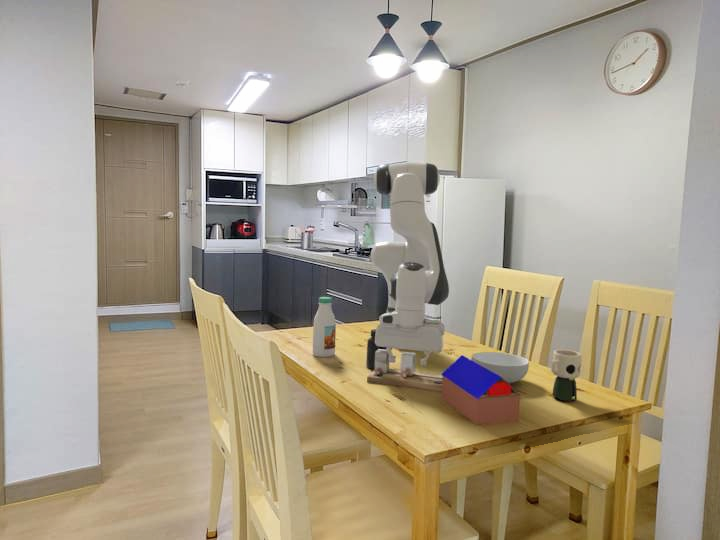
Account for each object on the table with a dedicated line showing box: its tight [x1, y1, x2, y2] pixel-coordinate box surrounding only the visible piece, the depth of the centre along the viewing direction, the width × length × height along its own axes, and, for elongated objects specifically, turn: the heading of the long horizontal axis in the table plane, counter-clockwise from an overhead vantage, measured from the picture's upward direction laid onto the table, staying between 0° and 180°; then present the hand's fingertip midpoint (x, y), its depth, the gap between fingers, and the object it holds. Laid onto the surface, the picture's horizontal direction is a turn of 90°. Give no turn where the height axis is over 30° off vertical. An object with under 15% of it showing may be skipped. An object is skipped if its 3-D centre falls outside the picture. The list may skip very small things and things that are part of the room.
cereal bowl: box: [470, 351, 530, 385], centre depth 161 cm, size 17×17×7 cm
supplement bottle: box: [365, 328, 386, 370], centre depth 171 cm, size 7×7×12 cm
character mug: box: [550, 349, 582, 402], centre depth 146 cm, size 11×7×13 cm, turn 117°
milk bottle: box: [312, 296, 337, 358], centre depth 183 cm, size 8×8×20 cm
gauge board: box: [366, 349, 443, 392], centre depth 157 cm, size 11×27×8 cm, turn 73°
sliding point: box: [400, 351, 416, 378], centre depth 158 cm, size 7×4×6 cm, turn 163°
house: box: [440, 354, 522, 426], centre depth 136 cm, size 12×20×12 cm, turn 17°
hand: (407, 363), depth 159 cm, fingers open, 8 cm apart
